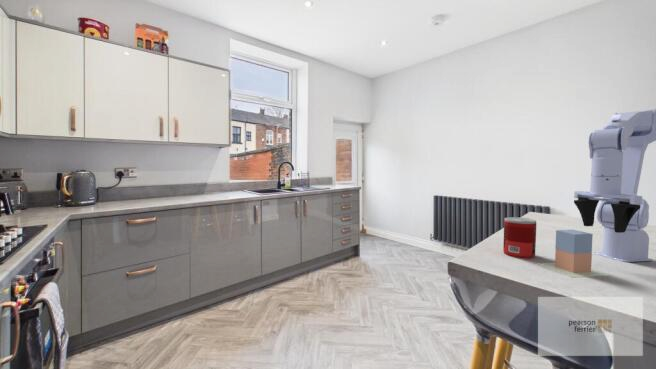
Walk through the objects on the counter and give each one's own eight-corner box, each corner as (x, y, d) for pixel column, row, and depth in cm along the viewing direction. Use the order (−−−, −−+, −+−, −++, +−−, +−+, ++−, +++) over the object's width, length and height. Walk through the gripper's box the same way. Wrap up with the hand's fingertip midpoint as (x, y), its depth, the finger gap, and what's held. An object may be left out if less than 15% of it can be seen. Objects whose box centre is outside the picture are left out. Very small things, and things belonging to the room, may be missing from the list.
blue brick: (572, 247, 77) (573, 229, 76) (591, 252, 72) (592, 233, 71) (555, 248, 76) (556, 230, 76) (573, 253, 71) (574, 234, 71)
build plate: (572, 262, 80) (572, 261, 80) (612, 276, 70) (612, 275, 70) (536, 264, 78) (536, 263, 78) (572, 278, 68) (572, 277, 68)
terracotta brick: (571, 265, 77) (572, 247, 77) (590, 271, 72) (591, 252, 72) (554, 266, 76) (555, 248, 76) (573, 272, 71) (573, 253, 71)
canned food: (540, 260, 82) (541, 222, 81) (509, 258, 83) (510, 221, 83) (527, 252, 89) (528, 217, 89) (499, 251, 91) (500, 216, 90)
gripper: (565, 175, 80) (563, 224, 81) (624, 177, 66) (621, 236, 67) (587, 175, 81) (585, 223, 82) (651, 177, 67) (647, 235, 68)
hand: (603, 229), depth 74 cm, fingers open, 7 cm apart
